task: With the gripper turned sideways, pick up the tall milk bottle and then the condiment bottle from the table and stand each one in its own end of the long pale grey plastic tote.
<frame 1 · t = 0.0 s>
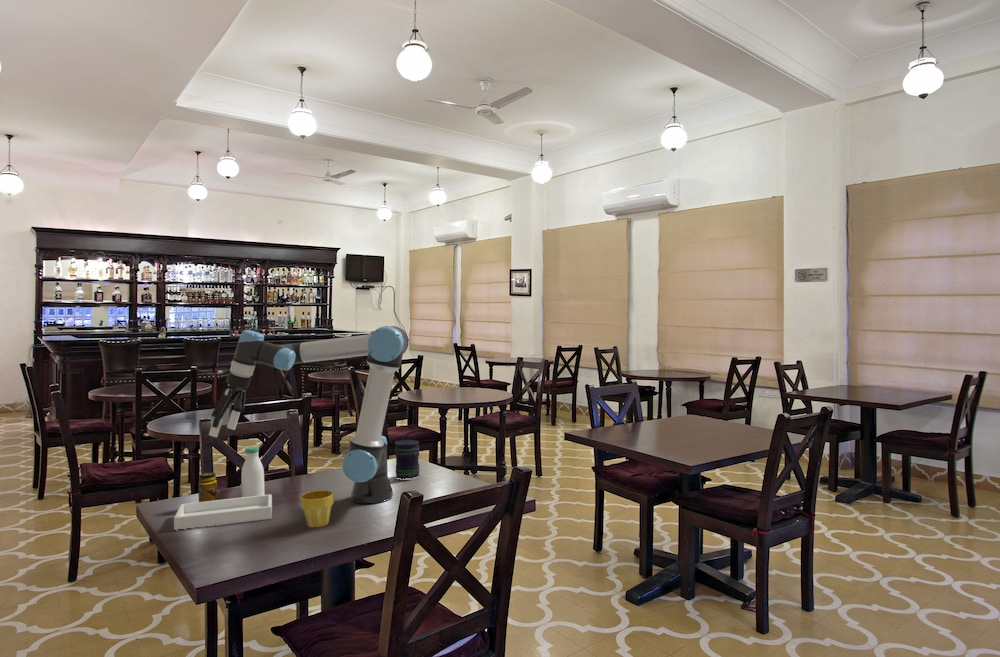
hand: (222, 432, 211), 28 cm above the table, tool tilted 20°, fingers open, 13 cm apart
condiment: (205, 508, 217), on the table
milk bottle: (253, 502, 222), on the table
storage jar: (407, 478, 252), on the table
tote: (226, 517, 205), on the table
plant pot: (317, 525, 196), on the table
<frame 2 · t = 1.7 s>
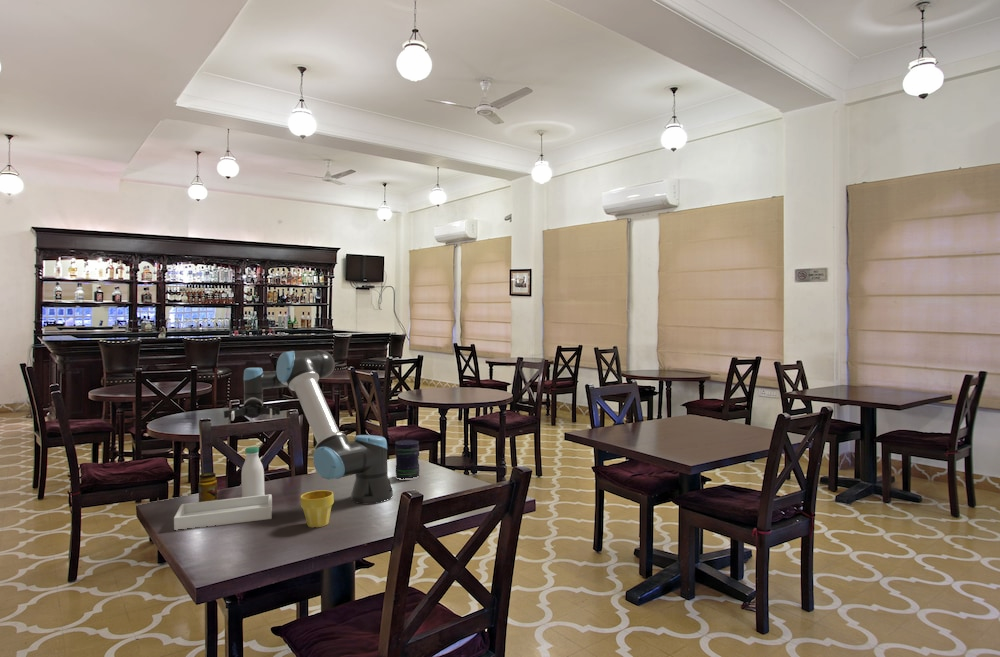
hand: (251, 415, 230), 30 cm above the table, tool horizontal, fingers open, 13 cm apart
nothing on the table moved.
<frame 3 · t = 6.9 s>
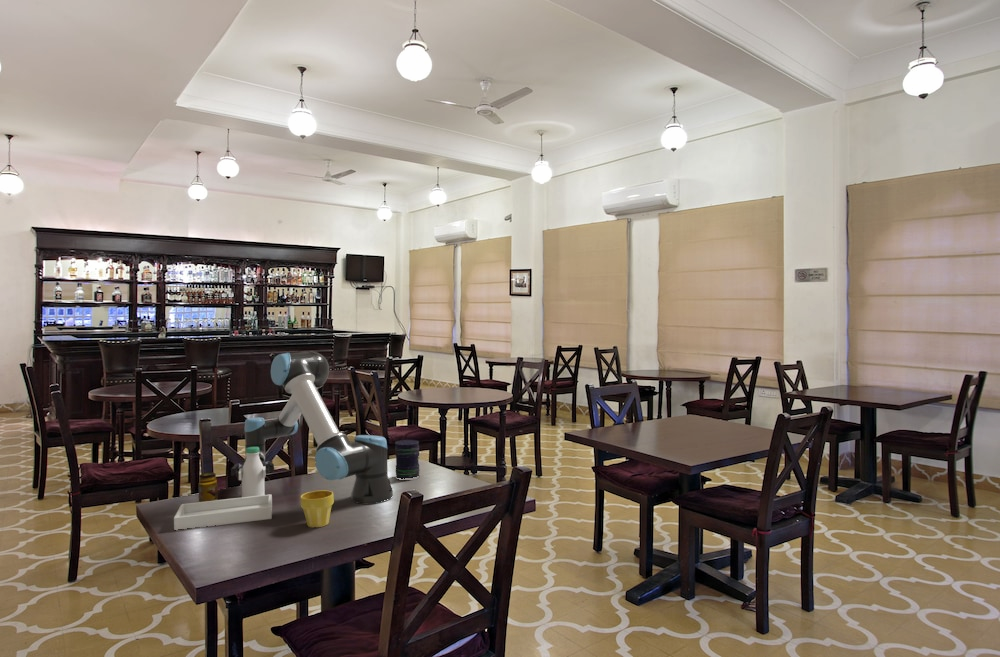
hand: (252, 475, 217), 11 cm above the table, tool horizontal, fingers closed on milk bottle, 7 cm apart
milk bottle: (253, 502, 222), on the table, touching gripper
everything else where it was.
when the fingers open (13 cm above the table, at t = 11.5 s): milk bottle drops 1 cm, resting on tote.
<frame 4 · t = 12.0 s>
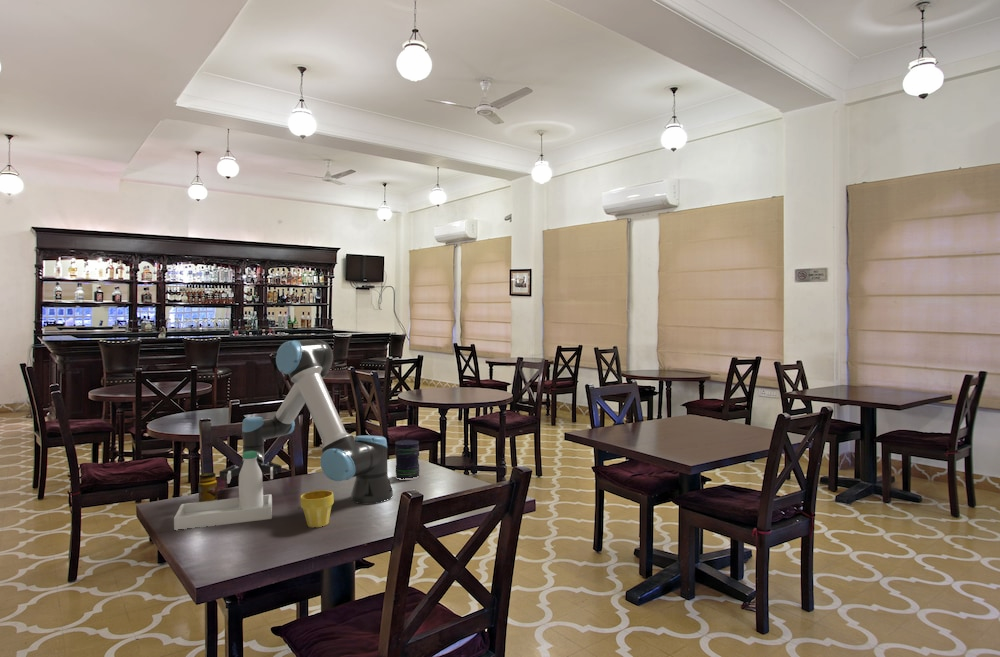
hand: (250, 477, 205), 13 cm above the table, tool horizontal, fingers open, 13 cm apart
milk bottle: (251, 509, 210), point 1 cm above the table, touching tote
everything else where it was.
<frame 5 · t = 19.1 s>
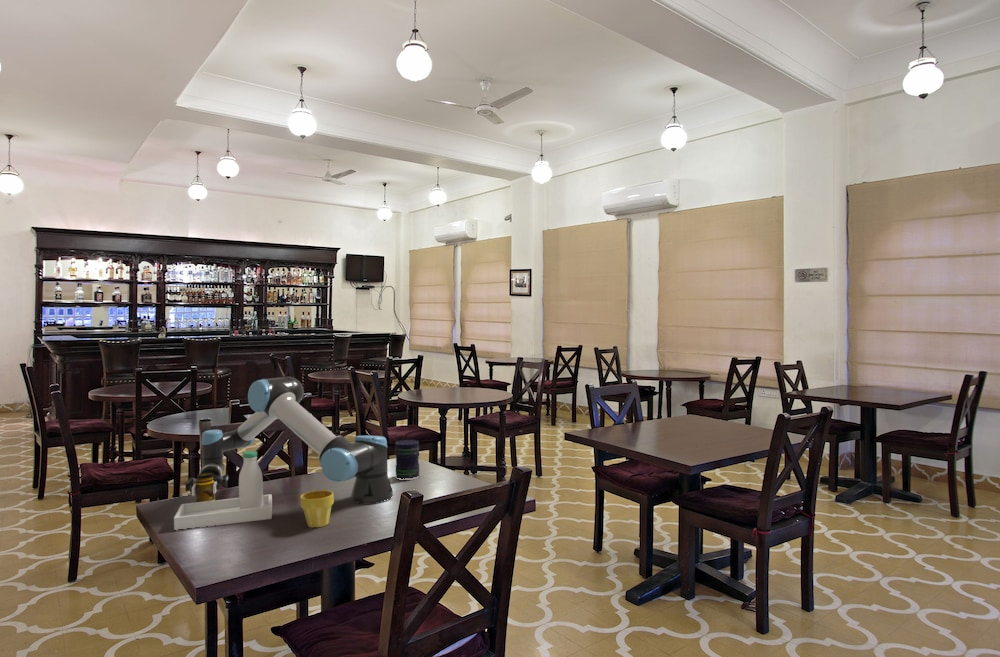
hand: (203, 490, 212), 7 cm above the table, tool horizontal, fingers closed on condiment, 6 cm apart
condiment: (203, 508, 216), on the table, touching gripper
when the fingers open (11 cm above the table, at t = 24.4 s): condiment stays where it is, resting on tote.
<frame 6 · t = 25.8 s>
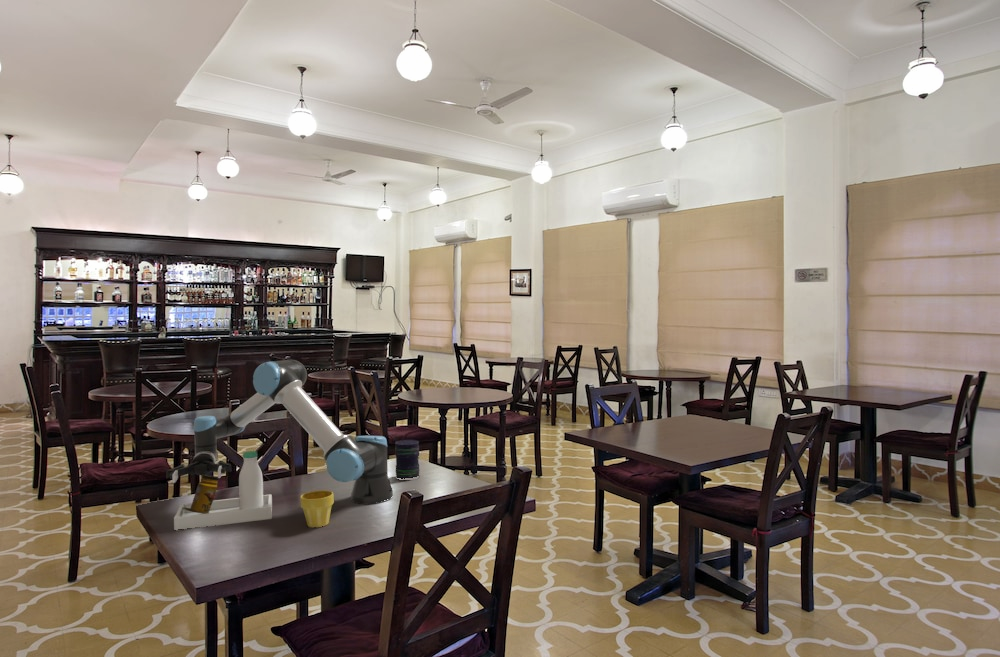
hand: (196, 476, 202), 15 cm above the table, tool horizontal, fingers open, 13 cm apart
condiment: (196, 512, 202), point 3 cm above the table, touching tote
everything else where it was.
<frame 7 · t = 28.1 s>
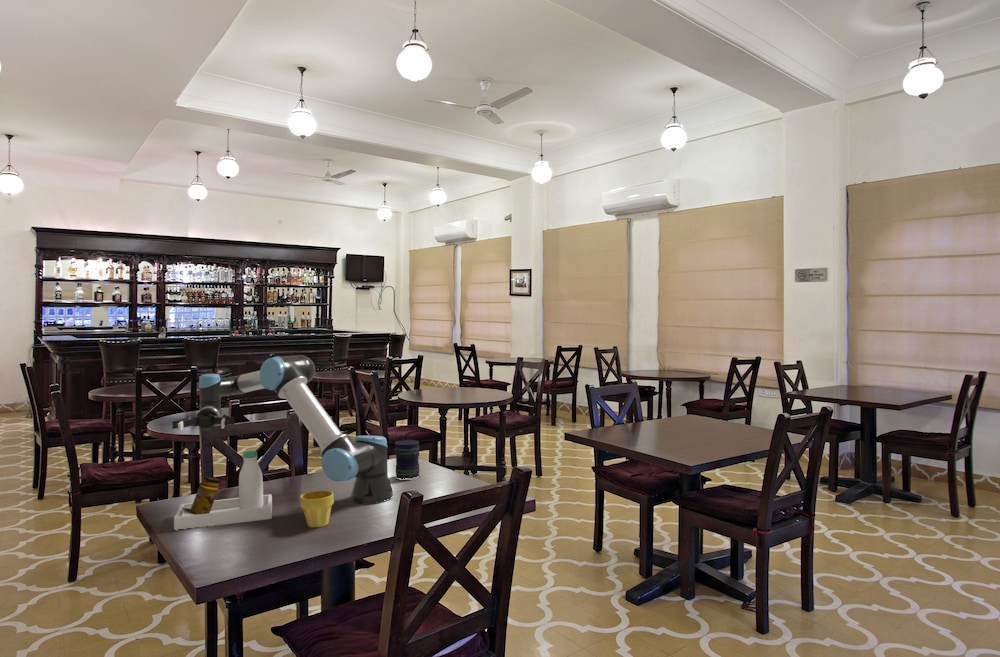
hand: (201, 426, 211), 30 cm above the table, tool horizontal, fingers open, 13 cm apart
at the end: milk bottle inside the target area on the tote (8.2 cm from its centre), point 0.8 cm above the tote's base; condiment inside the target area on the tote (9.1 cm from its centre), point 2.3 cm above the tote's base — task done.
